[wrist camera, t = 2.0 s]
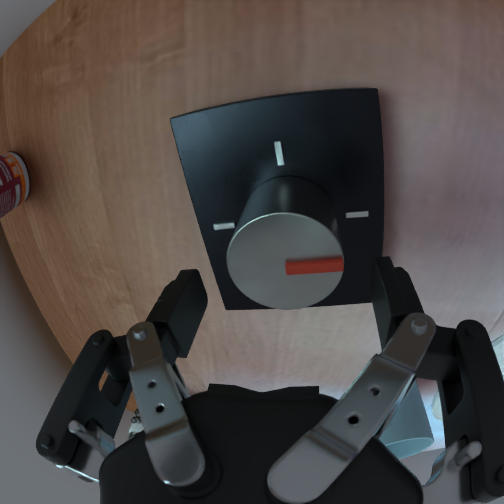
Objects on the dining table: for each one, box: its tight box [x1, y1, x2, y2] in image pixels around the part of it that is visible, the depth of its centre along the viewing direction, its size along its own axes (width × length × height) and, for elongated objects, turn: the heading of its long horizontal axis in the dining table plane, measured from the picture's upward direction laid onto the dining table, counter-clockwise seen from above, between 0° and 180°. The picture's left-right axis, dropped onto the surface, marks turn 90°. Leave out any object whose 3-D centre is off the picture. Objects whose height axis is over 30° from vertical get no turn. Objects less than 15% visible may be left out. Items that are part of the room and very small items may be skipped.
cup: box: [379, 381, 434, 459], centre depth 25 cm, size 8×8×10 cm
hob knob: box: [226, 176, 344, 310], centre depth 15 cm, size 6×6×5 cm
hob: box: [170, 88, 384, 310], centre depth 19 cm, size 15×12×3 cm
